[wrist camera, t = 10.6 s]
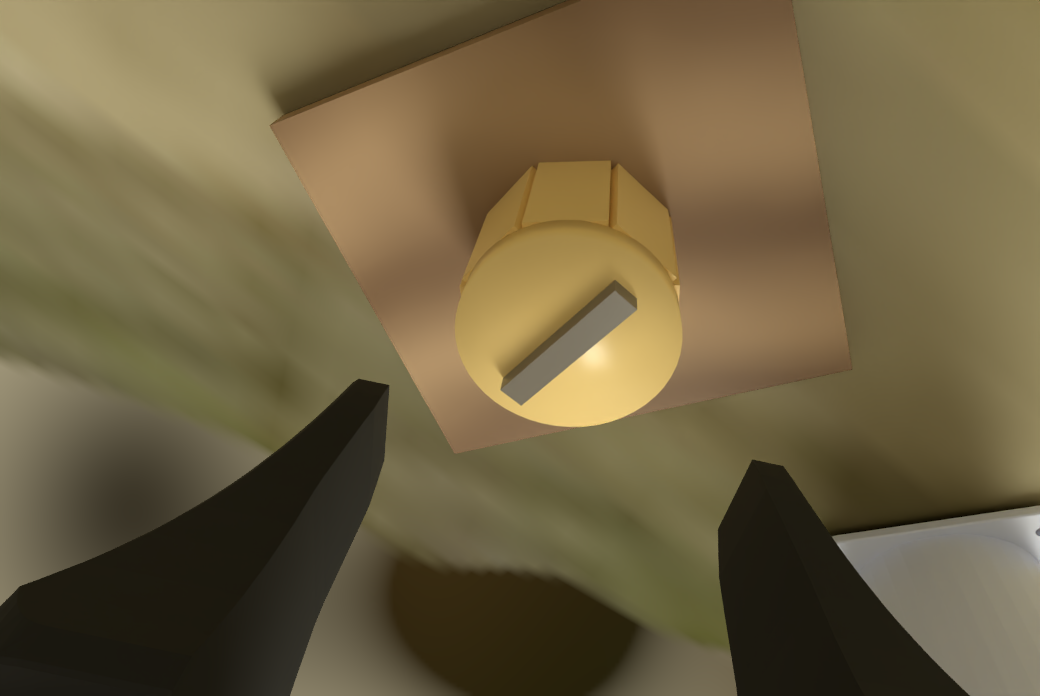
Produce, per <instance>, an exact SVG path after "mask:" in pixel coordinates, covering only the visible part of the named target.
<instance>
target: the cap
mask: <svg viewBox="0 0 1040 696" xmlns="http://www.w3.org/2000/svg"><path fill="white" fill-rule="evenodd" d="M460 293H461V298H460V301H459V304H458V308H457V312H456V318H455V339H456V344H457V348H458V352H459V355H460V357H461V360H462V363H463V365H464V366H465V368H466V370H467V372H468V374H469V375H470V376H471V378H472V379H473V381H474V382H475V383H476V384H477V386H478V387H479V388H480V389H481V390H482V391H483V392H484V393H485V394H486V395H487V396H489V397H490V398H491V399H492V400H493V401H495V402H496V403H498V404H499V405H501V406H502V407H504V408H505V409H507V410H509V411H511V412H513V413H515V414H517V415H519V416H521V417H524V418H526V419H529V420H532V421H536V422H539V423H543V424H548V425H554V426H564V427H584V426H592V425H599V424H603V423H607V422H611V421H614V420H617V419H620V418H622V417H625V416H627V415H629V414H631V413H633V412H635V411H636V410H638V409H640V408H641V407H643V406H644V405H646V404H647V403H648V402H649V401H651V400H652V399H653V398H654V397H655V396H656V395H657V394H658V393H659V392H660V391H661V390H662V389H663V388H664V387H665V385H666V384H667V382H668V381H669V379H670V378H671V376H672V374H673V372H674V370H675V368H676V366H677V363H678V360H679V357H680V354H681V348H682V322H681V314H680V307H679V295H680V281H679V273H678V266H677V258H676V251H675V243H674V236H673V228H672V221H671V217H669V212H668V209H667V208H666V207H664V206H663V205H662V204H661V203H660V202H659V201H658V200H657V199H656V198H655V197H654V196H653V195H652V194H651V193H650V192H648V191H647V190H646V189H645V188H644V187H643V186H642V185H641V184H640V183H639V182H638V181H637V180H636V179H635V178H634V177H633V176H631V175H630V174H629V173H628V172H627V171H626V170H625V169H624V168H623V167H622V166H621V165H620V164H619V163H618V164H617V165H616V166H615V167H614V168H613V169H612V170H611V160H609V161H575V162H542V163H539V164H538V167H537V170H536V169H535V168H534V167H533V166H531V167H530V168H529V169H528V170H527V171H526V173H525V174H524V175H523V176H522V177H521V178H520V179H519V180H518V181H517V182H516V183H515V184H514V185H513V187H512V188H511V189H510V190H509V191H508V192H507V193H506V194H505V195H504V196H503V197H502V198H501V199H500V200H499V202H498V203H497V204H496V205H495V206H494V207H493V208H492V209H491V210H490V211H489V212H488V213H487V216H486V218H485V221H484V223H483V226H482V229H481V231H480V234H479V236H478V239H477V242H476V244H475V247H474V249H473V252H472V254H471V257H470V260H469V262H468V265H467V267H466V270H465V273H464V275H463V278H462V281H461V284H460Z"/></svg>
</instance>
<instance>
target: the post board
mask: <svg viewBox="0 0 1040 696" xmlns="http://www.w3.org/2000/svg"><path fill="white" fill-rule="evenodd" d="M270 127H271V129H272V131H273V133H274V134H275V136H276V138H277V140H278V141H279V143H280V145H281V147H282V149H283V150H284V152H285V154H286V156H287V157H288V159H289V161H290V163H291V164H292V166H293V168H294V170H295V172H296V173H297V175H298V177H299V179H300V180H301V182H302V184H303V186H304V187H305V189H306V191H307V193H308V195H309V196H310V198H311V200H312V202H313V203H314V205H315V207H316V209H317V211H318V212H319V214H320V216H321V218H322V219H323V221H324V223H325V225H326V226H327V228H328V230H329V232H330V234H331V235H332V237H333V239H334V241H335V242H336V244H337V246H338V248H339V249H340V251H341V253H342V255H343V257H344V258H345V260H346V262H347V264H348V265H349V267H350V269H351V271H352V272H353V274H354V276H355V278H356V280H357V281H358V283H359V285H360V287H361V288H362V290H363V292H364V294H365V296H366V297H367V299H368V301H369V303H370V304H371V306H372V308H373V310H374V311H375V313H376V315H377V317H378V319H379V320H380V322H381V324H382V326H383V327H384V329H385V331H386V333H387V334H388V336H389V338H390V340H391V342H392V343H393V345H394V347H395V349H396V350H397V352H398V354H399V356H400V357H401V359H402V361H403V363H404V365H405V366H406V368H407V370H408V372H409V373H410V375H411V377H412V379H413V380H414V382H415V384H416V386H417V388H418V389H419V391H420V393H421V395H422V396H423V398H424V400H425V402H426V404H427V405H428V407H429V409H430V411H431V412H432V414H433V416H434V418H435V419H436V421H437V423H438V425H439V427H440V428H441V430H442V432H443V434H444V435H445V437H446V439H447V441H448V442H449V444H450V446H451V448H452V450H453V451H454V453H455V454H456V453H461V452H465V451H470V450H475V449H479V448H484V447H489V446H494V445H498V444H503V443H508V442H512V441H517V440H522V439H527V438H531V437H536V436H541V435H545V434H550V433H555V432H560V431H564V430H569V429H574V428H578V427H564V426H554V425H548V424H543V423H539V422H536V421H532V420H529V419H526V418H524V417H521V416H519V415H517V414H515V413H513V412H511V411H509V410H507V409H505V408H504V407H502V406H501V405H499V404H498V403H496V402H495V401H493V400H492V399H491V398H490V397H489V396H487V395H486V394H485V393H484V392H483V391H482V390H481V389H480V388H479V387H478V386H477V384H476V383H475V382H474V381H473V379H472V378H471V376H470V375H469V374H468V372H467V370H466V368H465V366H464V365H463V363H462V360H461V357H460V355H459V352H458V348H457V344H456V339H455V318H456V312H457V308H458V304H459V301H460V298H461V293H460V284H461V281H462V278H463V275H464V273H465V270H466V267H467V265H468V262H469V260H470V257H471V254H472V252H473V249H474V247H475V244H476V242H477V239H478V236H479V234H480V231H481V229H482V226H483V223H484V221H485V218H486V216H487V213H488V212H489V211H490V210H491V209H492V208H493V207H494V206H495V205H496V204H497V203H498V202H499V200H500V199H501V198H502V197H503V196H504V195H505V194H506V193H507V192H508V191H509V190H510V189H511V188H512V187H513V185H514V184H515V183H516V182H517V181H518V180H519V179H520V178H521V177H522V176H523V175H524V174H525V173H526V171H527V170H528V169H529V168H530V167H531V166H533V167H534V168H535V169H536V170H537V167H538V164H539V163H542V162H575V161H609V160H611V170H612V169H613V168H614V167H615V166H616V165H617V164H618V163H619V164H620V165H621V166H622V167H623V168H624V169H625V170H626V171H627V172H628V173H629V174H630V175H631V176H633V177H634V178H635V179H636V180H637V181H638V182H639V183H640V184H641V185H642V186H643V187H644V188H645V189H646V190H647V191H648V192H650V193H651V194H652V195H653V196H654V197H655V198H656V199H657V200H658V201H659V202H660V203H661V204H662V205H663V206H664V207H666V208H667V209H668V212H669V217H671V221H672V228H673V236H674V243H675V251H676V258H677V266H678V273H679V281H680V295H679V307H680V314H681V322H682V348H681V354H680V357H679V360H678V363H677V366H676V368H675V370H674V372H673V374H672V376H671V378H670V379H669V381H668V382H667V384H666V385H665V387H664V388H663V389H662V390H661V391H660V392H659V393H658V394H657V395H656V396H655V397H654V398H653V399H652V400H651V401H649V402H648V403H647V404H646V405H644V406H643V407H641V408H640V409H638V410H636V411H635V412H633V413H631V414H629V415H627V416H625V417H622V418H626V417H630V416H635V415H640V414H644V413H649V412H654V411H659V410H663V409H668V408H673V407H677V406H682V405H687V404H692V403H696V402H701V401H706V400H710V399H715V398H720V397H725V396H729V395H734V394H739V393H743V392H748V391H753V390H758V389H762V388H767V387H772V386H776V385H781V384H786V383H790V382H795V381H800V380H805V379H809V378H814V377H819V376H823V375H828V374H833V373H838V372H842V371H847V370H852V364H851V358H850V352H849V346H848V340H847V334H846V328H845V322H844V315H843V309H842V303H841V297H840V291H839V285H838V279H837V273H836V267H835V261H834V255H833V249H832V243H831V237H830V230H829V224H828V218H827V212H826V206H825V200H824V194H823V188H822V182H821V176H820V170H819V164H818V158H817V152H816V145H815V139H814V133H813V127H812V121H811V115H810V109H809V103H808V97H807V91H806V85H805V79H804V73H803V67H802V60H801V54H800V48H799V42H798V36H797V30H796V24H795V18H794V12H793V6H792V0H567V1H565V2H562V3H560V4H557V5H555V6H553V7H550V8H548V9H545V10H543V11H540V12H538V13H535V14H533V15H530V16H528V17H525V18H523V19H520V20H518V21H515V22H513V23H510V24H508V25H505V26H503V27H501V28H498V29H496V30H493V31H491V32H488V33H486V34H483V35H481V36H478V37H476V38H473V39H471V40H468V41H466V42H463V43H461V44H458V45H456V46H453V47H451V48H449V49H446V50H444V51H441V52H439V53H436V54H434V55H431V56H429V57H426V58H424V59H421V60H419V61H416V62H414V63H411V64H409V65H406V66H404V67H401V68H399V69H397V70H394V71H392V72H389V73H387V74H384V75H382V76H379V77H377V78H374V79H372V80H369V81H367V82H364V83H362V84H359V85H357V86H354V87H352V88H349V89H347V90H345V91H342V92H340V93H337V94H335V95H332V96H330V97H327V98H325V99H322V100H320V101H317V102H315V103H312V104H310V105H307V106H305V107H302V108H300V109H297V110H295V111H293V112H290V113H288V114H285V115H283V116H282V117H280V118H279V119H278V120H276V121H275V122H274V123H272V124H271V125H270ZM620 419H621V418H620Z"/></svg>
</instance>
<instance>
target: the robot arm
mask: <svg viewBox="0 0 1040 696" xmlns="http://www.w3.org/2000/svg"><path fill="white" fill-rule="evenodd" d="M388 397H389V385H386V384H381V383H376V382H371V381H367V380H362V379H358V380H356V381H355V382H353V383H352V384H351V385H350V386H349V387H348V388H347V389H346V390H345V391H344V392H343V393H342V394H341V395H340V396H339V397H338V398H337V399H336V400H335V401H334V402H333V403H331V404H330V405H329V406H328V407H327V408H326V409H325V410H324V411H323V412H322V413H321V414H320V415H318V416H317V417H316V418H315V419H314V420H313V421H312V422H311V423H310V424H308V425H307V426H306V427H305V428H304V429H302V430H301V431H300V432H299V433H298V434H297V435H295V436H294V437H293V438H292V439H291V440H290V441H288V442H287V443H286V444H285V445H284V446H282V447H281V448H280V449H278V450H277V451H276V452H274V453H273V454H272V455H271V456H269V457H268V458H267V459H265V460H264V461H263V462H261V463H260V464H259V465H258V466H256V467H255V468H254V469H252V470H251V471H249V472H248V473H247V474H245V475H244V476H242V477H241V478H240V479H238V480H237V481H235V482H234V483H232V484H231V485H229V486H228V487H226V488H225V489H223V490H222V491H220V492H218V493H217V494H215V495H214V496H212V497H211V498H209V499H207V500H206V501H204V502H202V503H201V504H199V505H197V506H196V507H194V508H192V509H191V510H189V511H187V512H185V513H183V514H182V515H180V516H178V517H177V518H175V519H173V520H171V521H169V522H168V523H166V524H164V525H162V526H160V527H158V528H156V529H154V530H152V531H150V532H148V533H146V534H144V535H142V536H140V537H138V538H136V539H134V540H132V541H130V542H127V543H125V544H123V545H121V546H119V547H117V548H115V549H113V550H111V551H108V552H106V553H104V554H102V555H99V556H97V557H95V558H92V559H90V560H88V561H85V562H83V563H80V564H78V565H75V566H72V567H70V568H67V569H65V570H62V571H59V572H57V573H54V574H52V575H50V576H46V577H44V578H41V579H39V580H36V581H33V582H31V583H28V584H25V585H22V586H20V587H19V588H18V589H17V590H16V591H15V592H14V593H13V594H12V595H11V596H10V597H9V598H8V599H7V600H6V601H5V602H4V603H3V604H2V605H1V606H0V696H290V694H291V691H292V688H293V685H294V682H295V679H296V676H297V673H298V670H299V667H300V665H301V662H302V659H303V656H304V653H305V651H306V648H307V645H308V642H309V639H310V636H311V633H312V631H313V628H314V625H315V622H316V620H317V618H318V615H319V613H320V611H321V608H322V606H323V603H324V601H325V599H326V597H327V595H328V593H329V591H330V588H331V586H332V584H333V582H334V580H335V578H336V575H337V573H338V571H339V569H340V567H341V565H342V563H343V561H344V558H345V556H346V554H347V552H348V550H349V548H350V546H351V544H352V542H353V539H354V537H355V535H356V533H357V531H358V529H359V527H360V524H361V522H362V520H363V518H364V516H365V514H366V511H367V509H368V507H369V505H370V502H371V499H372V496H373V493H374V490H375V487H376V484H377V481H378V478H379V475H380V471H381V468H382V465H383V462H384V455H385V440H386V426H387V412H388ZM718 556H719V579H720V586H721V593H722V600H723V606H724V613H725V619H726V625H727V631H728V638H729V644H730V650H731V656H732V662H733V669H734V675H735V681H736V687H737V696H1040V506H1032V507H1025V508H1019V509H1012V510H1005V511H998V512H992V513H985V514H978V515H971V516H964V517H958V518H951V519H944V520H937V521H930V522H924V523H917V524H910V525H903V526H897V527H890V528H883V529H876V530H869V531H863V532H856V533H849V534H842V535H836V536H831V535H830V534H829V532H828V531H827V529H826V528H825V526H824V525H823V524H822V522H821V521H820V519H819V518H818V516H817V515H816V513H815V512H814V510H813V509H812V507H811V506H810V504H809V503H808V502H807V500H806V499H805V497H804V496H803V494H802V493H801V491H800V490H799V488H798V487H797V485H796V484H795V482H794V481H793V479H792V478H791V476H790V475H789V473H788V472H787V471H786V469H785V468H784V466H780V465H776V464H771V463H766V462H761V461H756V460H752V461H751V463H750V465H749V468H748V470H747V472H746V474H745V476H744V478H743V480H742V482H741V484H740V486H739V488H738V490H737V492H736V494H735V496H734V498H733V500H732V502H731V504H730V506H729V508H728V510H727V512H726V514H725V516H724V518H723V520H722V522H721V524H720V526H719V528H718Z"/></svg>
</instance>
